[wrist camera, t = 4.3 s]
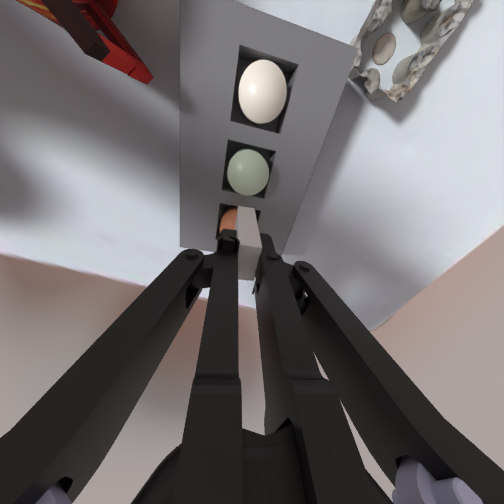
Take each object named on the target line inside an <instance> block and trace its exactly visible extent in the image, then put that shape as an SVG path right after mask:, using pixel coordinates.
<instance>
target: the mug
mask: <svg viewBox="0 0 504 504" xmlns="http://www.w3.org/2000/svg"><path fill="white" fill-rule="evenodd" d="M16 1H18V2H20V3H22V4H23V5H25V6H27V7H29V8H30V9H32V10H34V11H36V12H37V13H39V14H41V15H42V16H44V17H46V18H48V19H49V20H51V21H53V22H55V23H57V24H58V25H60V26H62V27H64V28H65V29H66V31H67V32H68V33H69V34H70V35H71V37H72V38H73V39H74V40H75V42H76V43H77V44H78V45H79V47H80V48H81V49H82V50H83V52H84V53H85V54H87V55H89V56H91V57H93V58H95V59H97V60H99V61H101V62H103V63H105V64H107V65H109V66H111V67H114V68H116V69H118V70H120V71H122V72H124V73H126V74H128V76H130V77H132V78H134V79H136V80H139V81H141V82H143V83H145V84H148V83H149V82H150V81H151V80H152V79H153V78H154V77H153V76H152V74H151V73H150V71H149V70H148V68H147V67H146V66H145V64H144V63H143V62H142V60H141V59H140V58H139V56H138V55H137V54H136V52H135V51H134V49H133V48H132V47H131V45H130V44H129V43H128V41H127V40H126V39H125V37H124V36H123V35H122V33H121V32H120V31H119V29H118V28H117V27H116V25H115V24H114V22H113V21H112V20H111V17H112V16H113V13H114V11H115V9H116V7H117V3H118V0H16ZM98 29H101V30H102V32H103V33H104V34H105V36H106V37H107V38H108V39H109V40H107V39H106V38H104V37H103V36H101V35H100V34H98V33H97V32H96V31H95V30H98Z"/></svg>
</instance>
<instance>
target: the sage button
mask: <svg viewBox="0 0 504 504" xmlns="http://www.w3.org/2000/svg"><path fill="white" fill-rule="evenodd" d="M227 176H228V180H229V183H230V185H231V187H232V188H233V189H234V190H235V191H236V192H238V193H239V194H242V195H247V196H250V195H255V194H257V193H259V192H260V191H261V190H262V189H263V188H264V187H265V186H266V184H267V182H268V178H269V168H268V165H267V163H266V161H265V159H264V158H263V157H262V156H261V155H260V153H259V152H257V151H256V150H254V149H251V148H243V149H240V150H238V151H236V152H235V153H234V154H233V156H232V157H231V159H230V162H229V166H228V171H227Z"/></svg>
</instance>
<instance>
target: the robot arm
mask: <svg viewBox="0 0 504 504" xmlns="http://www.w3.org/2000/svg"><path fill="white" fill-rule="evenodd" d="M254 278H256V281H255V284H254V288H253V292H252V294H254V292H255V299H256V309H257V319H258V330H259V340H260V350H261V359H262V360H261V361H262V371H263V381H264V392H265V403H266V409H265V418H264V419H265V420H264V427H265V435H261V434H257V433H255V432H252V431H249V430H246V429H243V428H242V400H241V399H242V398H241V397H242V396H241V381H240V378H239V372H238V279H241V280H252V281H254ZM208 287H210V292H209V297H208V304H207V309H206V315H205V321H204V327H203V333H202V338H201V344H200V350H199V355H198V361H197V367H196V373H195V377H194V380H193V384H192V389H191V394H190V399H189V405H188V411H187V417H186V422H185V428H184V433H183V439H182V443H181V444H180V445H179V446H178V447H176V448H175V449H174V450H173V451H172V452H171V453H170V454H169V455H167V456H166V458H165V459H164V460H163V461H162V462H161V463H160V464H159V466H158V467H157V468H156V469H155V471H154V472H153V474H152V475H151V476H150V478H149V479H148V481H147V482H146V483H145V485H144V486H143V488H142V489H141V490H140V491H139V493H138V494H137V496H136V497H135V498H134V500H133V501H132V503H131V504H504V471H503V470H502V469H501V468H500V467H499V466H498V465H497V464H495V463H494V462H493V461H492V460H491V459H490V458H489V457H487V456H486V455H485V454H484V453H483V452H482V451H481V450H479V449H478V448H477V447H476V446H475V445H474V444H473V443H472V442H470V441H469V440H468V439H467V438H466V437H465V436H464V435H462V434H461V433H460V432H459V431H458V430H457V429H456V428H455V427H453V426H452V425H451V424H450V423H449V422H448V421H447V420H445V419H444V418H443V416H442V415H441V414H440V413H439V412H438V411H437V409H436V408H435V407H434V406H433V405H432V404H431V403H430V401H429V400H428V399H427V398H426V397H425V396H424V395H423V393H422V392H421V391H420V390H419V389H418V387H417V386H416V385H415V384H414V383H413V382H412V381H411V379H410V378H409V377H408V376H407V375H406V374H405V373H404V371H403V370H402V369H401V368H400V367H399V365H398V364H397V363H396V362H395V361H394V360H393V359H392V357H391V356H390V355H389V354H388V353H387V352H386V350H385V349H384V348H383V347H382V346H381V345H380V344H379V342H378V341H377V340H376V339H375V338H374V337H373V335H372V334H371V333H370V332H369V331H368V330H367V328H366V327H365V326H364V325H363V324H362V323H361V321H360V320H359V319H358V318H357V317H356V316H355V315H354V313H353V312H352V311H351V310H350V309H349V308H348V306H347V305H346V304H345V303H344V302H343V301H342V299H341V298H340V297H339V296H338V295H337V294H336V293H335V291H334V290H333V289H332V288H331V287H330V286H329V284H328V283H327V282H326V281H325V280H324V279H323V277H322V276H321V275H320V274H319V273H318V272H317V271H316V269H315V268H314V267H313V266H312V265H311V264H309V263H307V262H304V261H297V262H295V264H294V265H290V264H287V263H285V262H283V259H282V257H281V256H280V255H279V254H277V253H276V250H275V247H274V244H273V240H272V237H271V236H270V235H269V234H264V233H259V229H258V224H257V219H256V214H255V209H254V208H249V207H242V206H238V209H237V215H236V222H235V229H234V230H232V229H222V230H221V231H220V237H219V238H218V241H217V251H216V252H215V253H213V254H209V255H204V254H203V253H202V252H201V251H199V250H197V249H187V250H184V251H182V252H181V253H180V254H179V255H178V256H177V257H176V258H175V259H174V260H173V261H172V262H171V263H170V264H169V265H168V266H167V267H166V268H165V269H164V270H163V271H162V272H161V274H160V275H159V276H158V277H157V278H156V279H155V280H154V281H153V282H152V283H151V284H150V285H149V286H148V287H147V288H146V289H145V290H144V291H143V292H142V293H141V295H140V296H138V298H137V299H136V300H135V301H134V302H133V303H132V304H131V305H130V306H129V307H128V308H127V309H126V310H125V311H124V312H123V313H122V314H121V315H120V316H119V317H118V318H117V319H116V320H115V322H114V323H113V324H112V325H111V326H110V327H109V328H108V329H107V330H106V331H105V332H104V333H103V334H102V335H101V336H100V337H99V338H98V339H97V340H96V341H95V342H94V343H93V344H92V345H91V347H90V348H89V349H88V350H87V351H86V352H85V353H84V354H83V355H82V356H81V357H80V358H79V359H78V360H77V361H76V362H75V363H74V364H73V365H72V366H71V367H70V368H69V369H68V370H67V372H66V373H65V374H64V375H63V376H62V377H61V378H60V379H59V380H58V381H57V382H56V383H55V384H54V385H53V386H52V387H51V388H50V389H49V390H48V391H47V393H46V394H44V396H43V397H42V398H41V399H40V400H39V401H38V402H37V403H36V404H35V405H34V406H33V407H32V408H31V409H30V410H29V411H28V412H27V413H26V414H25V415H24V416H23V417H22V418H21V420H20V421H19V422H18V423H17V424H16V425H15V426H14V427H13V428H12V429H11V430H10V431H9V432H7V433H6V434H5V435H4V436H2V437H1V438H0V504H72V503H73V502H74V500H75V499H76V497H78V495H79V494H80V493H81V491H82V490H83V488H84V487H85V486H86V484H87V483H88V481H89V480H90V479H91V477H92V476H93V474H94V473H95V472H96V470H97V469H98V467H99V466H100V464H101V463H102V461H103V459H104V458H105V456H106V455H107V453H108V451H109V450H110V448H111V446H112V445H113V443H114V442H115V440H116V438H117V436H118V435H119V433H120V431H121V430H122V428H123V426H124V424H125V422H126V421H127V419H128V417H129V416H130V414H131V412H132V410H133V409H134V407H135V405H136V403H137V402H138V400H139V398H140V397H141V395H142V393H143V391H144V390H145V388H146V386H147V384H148V383H149V381H150V379H151V378H152V376H153V374H154V372H155V371H156V369H157V367H158V365H159V364H160V362H161V360H162V359H163V357H164V355H165V353H166V352H167V350H168V348H169V346H170V345H171V343H172V341H173V340H174V338H175V336H176V334H177V333H178V331H179V329H180V327H181V326H182V324H183V322H184V320H185V319H186V317H187V315H188V314H189V312H190V310H191V308H192V306H193V305H194V303H195V301H196V300H197V298H198V296H199V294H200V293H201V291H202V288H208ZM305 292H306V293H307V295H308V297H306V296H305V294H304V293H305ZM313 352H314V353H313ZM314 354H315V355H316V357H317V359H318V361H319V363H320V364H321V366H322V368H323V370H324V372H325V373H326V375H327V377H328V379H329V380H327V379H325V378H323V376H322V375H321V373H320V371H319V368H318V365H317V362H316V359H315V356H314ZM340 401H341V402H342V404H343V406H344V407H345V410H346V411H347V413H348V415H349V417H350V419H351V420H352V422H353V424H354V426H355V428H356V429H357V431H358V433H359V435H360V436H361V438H362V440H363V441H364V443H365V445H366V446H367V448H368V450H369V452H370V453H371V455H372V456H373V457H374V459H375V460H376V462H377V463H378V465H379V466H380V468H381V469H382V471H383V472H384V473H385V475H386V476H387V477H388V478H389V480H390V481H391V482H392V484H393V485H394V486H395V488H396V489H394V490H393V492H392V499H393V502H392V501H391V500H390V498H389V497H388V496H387V495H386V494H385V492H384V491H383V490H382V489H381V487H380V486H379V485H378V484H377V482H376V481H375V480H374V479H373V478H372V476H371V475H370V474H369V473H368V472H367V470H366V469H365V467H364V464H363V462H362V459H361V456H360V453H359V451H358V448H357V445H356V443H355V440H354V437H353V434H352V432H351V429H350V426H349V424H348V421H347V418H346V416H345V413H344V411H343V408H342V405H341V402H340Z"/></svg>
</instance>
